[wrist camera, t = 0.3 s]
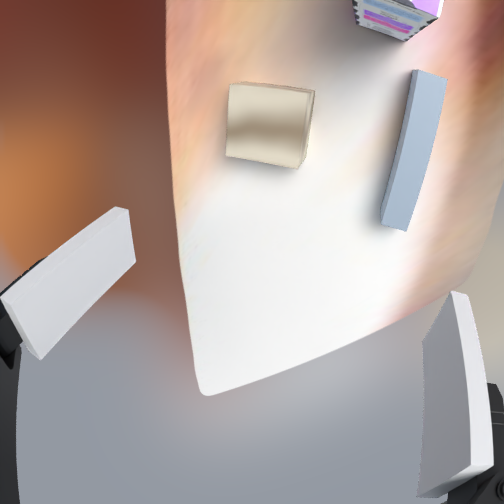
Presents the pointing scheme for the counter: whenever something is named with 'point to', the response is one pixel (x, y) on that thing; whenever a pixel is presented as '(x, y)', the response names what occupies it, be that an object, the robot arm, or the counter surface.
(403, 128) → the blue-grey bar
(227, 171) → the counter surface
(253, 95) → the block
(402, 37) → the candy box
